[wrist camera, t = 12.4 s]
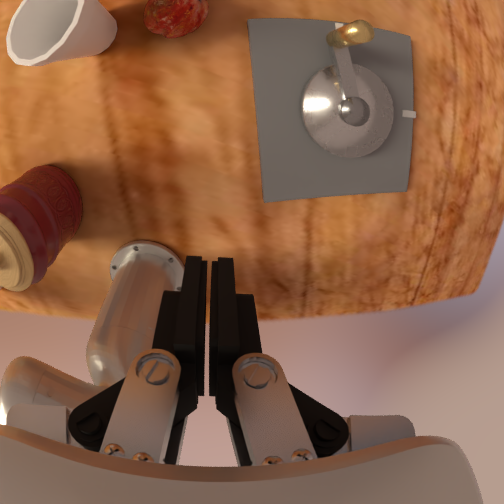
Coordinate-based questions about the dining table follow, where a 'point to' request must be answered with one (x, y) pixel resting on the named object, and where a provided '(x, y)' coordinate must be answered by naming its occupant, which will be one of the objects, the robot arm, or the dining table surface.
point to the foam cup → (59, 31)
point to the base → (289, 121)
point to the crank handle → (346, 99)
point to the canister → (36, 224)
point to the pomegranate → (175, 16)
